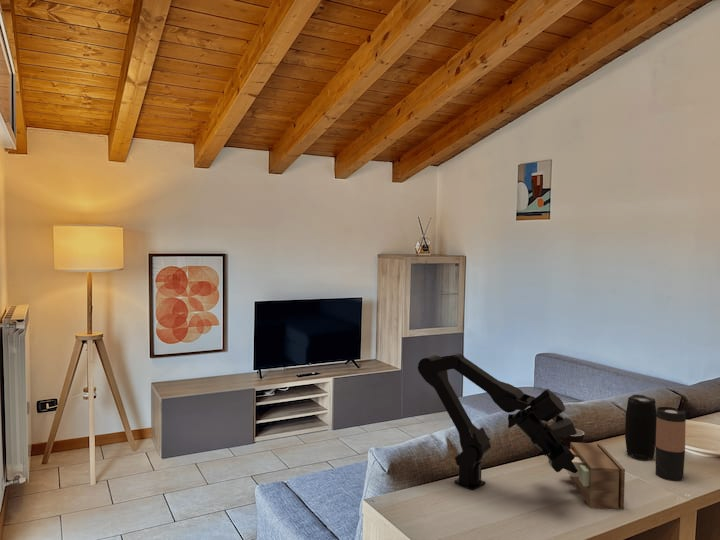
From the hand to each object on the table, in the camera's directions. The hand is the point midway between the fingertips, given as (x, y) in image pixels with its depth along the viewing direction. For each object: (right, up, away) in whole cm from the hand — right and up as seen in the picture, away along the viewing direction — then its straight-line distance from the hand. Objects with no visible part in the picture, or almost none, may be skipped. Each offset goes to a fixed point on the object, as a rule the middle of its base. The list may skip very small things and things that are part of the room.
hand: (576, 471), depth 144 cm
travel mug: (+35, -8, +17) cm, 40 cm away
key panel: (+7, -8, +5) cm, 12 cm away
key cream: (+3, -3, +6) cm, 7 cm away
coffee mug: (+7, -7, +27) cm, 29 cm away
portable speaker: (+34, -7, +33) cm, 48 cm away
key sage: (+4, -3, 0) cm, 5 cm away
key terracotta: (+4, -3, +12) cm, 13 cm away
